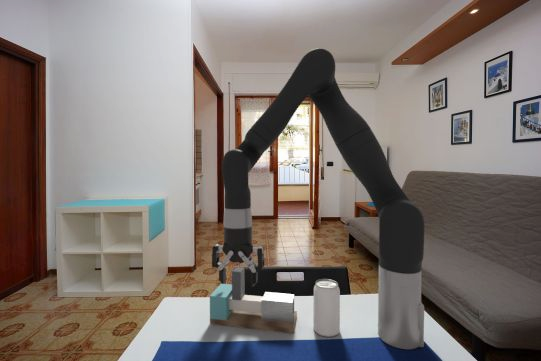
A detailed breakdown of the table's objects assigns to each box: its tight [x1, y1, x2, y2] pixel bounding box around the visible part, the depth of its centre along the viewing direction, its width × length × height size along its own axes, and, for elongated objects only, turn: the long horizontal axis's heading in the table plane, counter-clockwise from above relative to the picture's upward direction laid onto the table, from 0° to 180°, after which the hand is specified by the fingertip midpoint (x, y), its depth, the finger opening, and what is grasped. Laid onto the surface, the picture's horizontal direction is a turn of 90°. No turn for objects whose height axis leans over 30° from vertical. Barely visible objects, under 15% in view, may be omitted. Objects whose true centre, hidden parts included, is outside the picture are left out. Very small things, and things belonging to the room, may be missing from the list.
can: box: [313, 278, 341, 338], centre depth 68 cm, size 6×6×12 cm
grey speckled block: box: [261, 291, 295, 324], centre depth 72 cm, size 8×5×5 cm, turn 79°
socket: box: [209, 283, 233, 320], centre depth 75 cm, size 4×8×6 cm, turn 169°
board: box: [209, 310, 298, 334], centre depth 73 cm, size 22×8×2 cm, turn 79°
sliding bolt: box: [229, 266, 264, 313], centre depth 73 cm, size 14×4×10 cm, turn 79°
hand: (238, 283), depth 74 cm, fingers open, 8 cm apart
